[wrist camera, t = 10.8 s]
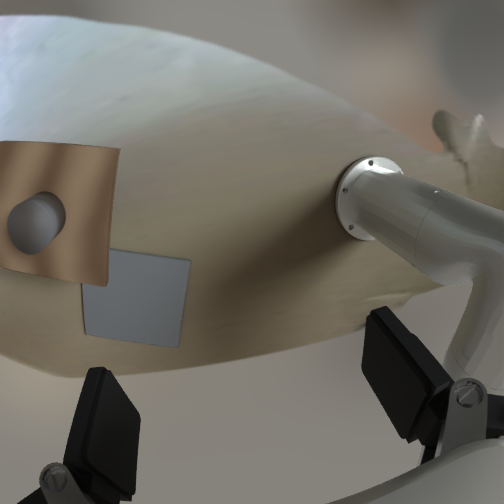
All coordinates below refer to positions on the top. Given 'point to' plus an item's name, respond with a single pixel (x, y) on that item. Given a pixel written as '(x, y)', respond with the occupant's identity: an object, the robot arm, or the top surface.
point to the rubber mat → (138, 299)
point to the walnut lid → (57, 209)
